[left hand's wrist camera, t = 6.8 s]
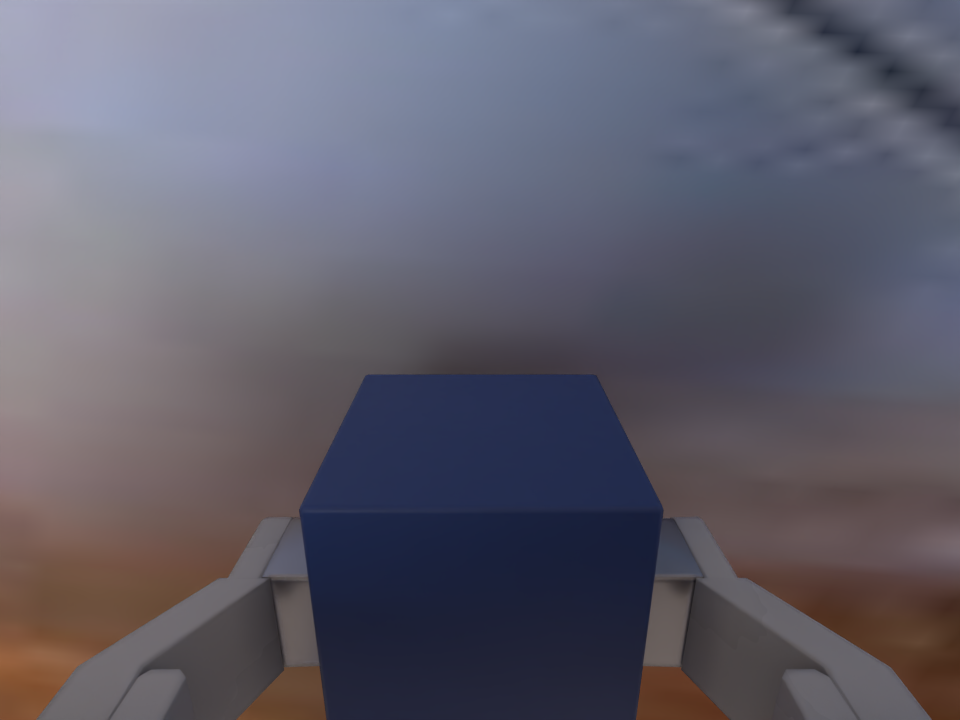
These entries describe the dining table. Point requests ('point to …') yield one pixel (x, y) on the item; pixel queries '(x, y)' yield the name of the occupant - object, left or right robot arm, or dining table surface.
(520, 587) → the cube
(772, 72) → the dining table surface
